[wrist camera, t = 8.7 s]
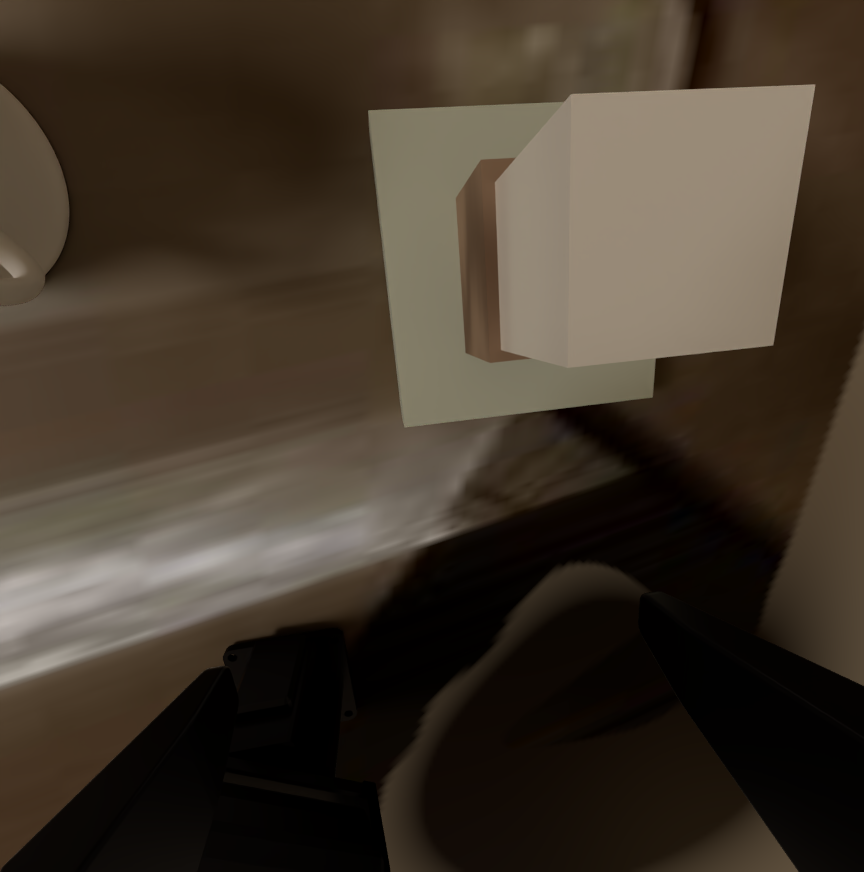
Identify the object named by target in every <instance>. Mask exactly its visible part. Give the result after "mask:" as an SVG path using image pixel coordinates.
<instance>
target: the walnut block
mask: <svg viewBox="0 0 864 872" xmlns="http://www.w3.org/2000/svg"><path fill="white" fill-rule="evenodd" d="M514 160H515V158H502V159H484V160H480V162H479V163H478V165H477V166H476V168H475V169H474V171H473V172H472V174H471V175H470V177H469V178H468V180H467V182H466V183H465V185H464V186H463V188H462V189H461V191H460V192H459V194H458V195H457V197H456V210H457V226H458V242H459V258H460V274H461V289H462V305H463V321H464V337H465V353H467V354H469V355H472V356H474V357H476V358H479V359H481V360H484V361H486V362H489V363H495V362H504V361H513V360H523V359H532V358H529V357H525V356H521V355H517V354H514V353H510V352H506V351H502V350H501V336H500V309H499V281H498V253H497V225H496V197H495V182H496V180H497V179H498V178H499V177H500V176H501V175H502V173H503V172H504V171H505V170H506V169H507V168H508V167H509V165H510V164H511V163H512V162H513V161H514Z"/></svg>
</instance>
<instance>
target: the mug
mask: <svg viewBox="0 0 864 872" xmlns="http://www.w3.org/2000/svg"><path fill="white" fill-rule="evenodd" d="M68 226H69V199H68V192H67V187H66V183H65V179H64V175H63V172H62V169H61V166H60V164H59V161H58V159H57V157H56V154H55V152H54V150H53V148H52V146H51V145H50V143H49V141H48V139H47V137H46V136H45V134H44V133H43V131H42V129H41V128H40V127H39V125H38V124H37V122H36V121H35V120H34V118H33V117H32V116H31V114H30V113H29V112H28V111H27V110H26V108H25V107H24V106H23V105H22V104H21V103H20V102H19V101H18V100H17V99H16V98H15V97H14V96H13V95H12V94H11V93H10V92H9V91H8V90H7V89H6V88H5V87H4V86H3V85H1V84H0V306H11V305H18V304H22V303H26V302H28V301H31V300H32V299H34V298H35V297H37V296H38V295H39V294H40V292H41V291H42V289H43V287H44V284H45V275H46V274H47V272H48V271H49V270H50V269H51V268H52V267H53V265H54V264H55V262H56V261H57V259H58V257H59V255H60V253H61V251H62V249H63V247H64V244H65V241H66V237H67V232H68Z"/></svg>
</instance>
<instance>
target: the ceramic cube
mask: <svg viewBox="0 0 864 872" xmlns="http://www.w3.org/2000/svg"><path fill="white" fill-rule="evenodd" d="M814 90H815V85H793V86H767V87H742V88H716V89H691V90H665V91H639V92H614V93H588V94H571V95H570V96H569V97H568V98H567V100H566V101H565V102H564V103H563V104H562V105H561V107H560V108H559V109H558V110H557V111H556V112H555V113H554V115H553V116H552V117H551V118H550V119H549V120H548V122H547V123H546V124H545V125H544V126H543V127H542V128H541V130H540V131H539V132H538V133H537V134H536V135H535V137H534V138H533V139H532V140H531V141H530V142H529V143H528V145H527V146H526V147H525V148H524V149H523V150H522V152H521V153H520V154H519V155H518V156H517V157H516V158H515V160H514V161H513V162H512V163H511V164H510V165H509V167H508V168H507V169H506V170H505V171H504V172H503V173H502V175H501V176H500V177H499V178H498V179H497V180H496V182H495V197H496V225H497V253H498V281H499V309H500V336H501V350H502V351H506V352H510V353H514V354H517V355H521V356H525V357H529V358H532V359H536V360H540V361H544V362H547V363H551V364H555V365H559V366H562V367H566V368H571V367H581V366H590V365H599V364H608V363H617V362H626V361H635V360H644V359H654V358H663V357H672V356H681V355H690V354H699V353H708V352H718V351H727V350H736V349H745V348H754V347H763V346H772V345H773V343H774V337H775V331H776V325H777V319H778V312H779V306H780V300H781V294H782V288H783V281H784V275H785V269H786V263H787V257H788V251H789V244H790V238H791V232H792V226H793V220H794V213H795V207H796V201H797V195H798V189H799V183H800V176H801V170H802V164H803V158H804V152H805V145H806V139H807V133H808V127H809V121H810V115H811V108H812V102H813V96H814Z"/></svg>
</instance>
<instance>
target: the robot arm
mask: <svg viewBox="0 0 864 872" xmlns="http://www.w3.org/2000/svg"><path fill="white" fill-rule="evenodd" d="M638 625H639V629H640V632H641V634H642V636H643V638H644V640H645V642H646V643H647V645H648V647H649V648H650V650H651V652H652V654H653V655H654V657H655V659H656V661H657V662H658V664H659V666H660V668H661V669H662V671H663V673H664V675H665V676H666V678H667V680H668V681H669V683H670V685H671V687H672V688H673V690H674V692H675V693H676V695H677V697H678V698H679V700H680V702H681V703H682V705H683V706H684V708H685V709H686V710H687V712H688V714H689V715H690V716H691V718H692V719H693V721H694V722H695V724H696V725H697V727H698V728H699V730H700V731H701V732H702V734H703V735H704V737H705V738H706V739H707V741H708V743H709V744H710V745H711V747H712V748H713V750H714V751H715V753H716V754H717V755H718V757H719V758H720V760H721V761H722V763H723V764H724V765H725V767H726V768H727V770H728V771H729V772H730V774H731V775H732V777H733V778H734V780H735V781H736V782H737V784H738V786H739V787H740V788H741V790H742V791H743V793H744V794H745V796H746V797H747V798H748V800H749V801H750V803H751V804H752V805H753V807H754V808H755V810H756V811H757V813H758V814H759V816H760V817H761V818H762V820H763V821H764V823H765V824H766V826H767V827H768V828H769V830H770V831H771V833H772V834H773V836H774V837H775V838H776V840H777V841H778V843H779V844H780V846H781V847H782V849H783V850H784V851H785V853H786V854H787V856H788V857H789V859H790V860H791V862H792V863H793V864H794V865H795V867H796V869H797V870H798V872H864V686H862V685H860V684H858V683H856V682H854V681H852V680H850V679H848V678H846V677H843V676H841V675H839V674H837V673H835V672H833V671H831V670H828V669H826V668H824V667H822V666H820V665H818V664H816V663H813V662H811V661H809V660H807V659H805V658H803V657H800V656H798V655H796V654H794V653H792V652H790V651H788V650H786V649H783V648H781V647H779V646H777V645H775V644H773V643H770V642H768V641H766V640H764V639H762V638H760V637H758V636H756V635H753V634H751V633H749V632H747V631H745V630H743V629H741V628H738V627H736V626H734V625H732V624H730V623H728V622H726V621H723V620H721V619H719V618H717V617H715V616H713V615H711V614H708V613H706V612H704V611H702V610H700V609H698V608H696V607H693V606H691V605H689V604H687V603H685V602H683V601H681V600H678V599H676V598H674V597H672V596H670V595H668V594H666V593H663V592H660V591H655V592H649V593H644V594H643V595H642V596H641V597H640V607H639V620H638ZM332 637H336V639H332ZM231 654H234V655H236V656H233V655H231ZM223 661H224V664H225V666H219V667H213V668H209V669H206V670H205V671H203V672H202V673H201V674H200V675H199V676H198V677H197V678H196V679H195V680H194V681H193V682H192V683H191V684H190V685H189V686H188V687H187V688H186V689H185V690H184V691H183V692H182V693H181V694H180V695H179V696H178V697H177V698H176V699H175V700H173V701H172V702H171V703H170V704H169V705H168V706H167V707H166V708H165V709H164V710H163V711H162V712H161V713H160V714H159V715H158V716H157V717H156V718H155V719H154V720H153V721H152V722H151V723H150V724H149V725H148V726H147V727H146V728H145V729H144V730H143V731H142V732H141V733H140V734H139V735H138V736H137V737H135V738H134V739H133V740H132V741H131V742H130V743H129V744H128V745H127V746H126V747H125V748H124V749H123V750H122V751H121V752H120V753H119V754H118V755H117V756H116V757H115V758H114V759H113V760H112V761H111V762H110V763H109V764H108V765H107V766H106V767H105V768H104V769H103V770H102V771H101V772H100V773H99V774H97V775H96V776H95V777H94V778H93V779H92V780H91V781H90V782H89V783H88V784H87V785H86V786H85V787H84V788H83V789H82V790H81V791H80V792H79V793H78V794H77V795H76V796H75V797H74V798H73V799H72V800H71V801H70V802H69V803H68V804H67V805H66V806H65V807H64V808H63V809H62V810H61V811H59V812H58V813H57V814H56V815H55V816H54V817H53V818H52V819H51V820H50V821H49V822H48V823H47V824H46V825H45V826H44V827H43V828H42V829H41V830H40V831H39V832H38V833H37V834H36V835H35V836H34V837H33V838H32V839H31V840H30V841H29V842H28V843H27V844H26V845H25V846H24V847H23V848H21V849H20V850H19V851H18V852H17V853H16V854H15V855H14V856H13V857H12V858H11V859H10V860H9V861H8V862H7V863H6V864H5V865H4V866H3V867H2V869H1V871H0V872H390V865H389V859H388V854H387V848H386V842H385V836H384V830H383V825H382V819H381V813H380V807H379V801H378V796H377V790H376V784H375V783H373V782H368V781H363V783H361V782H356V781H351V780H346V779H341V778H336V777H335V774H336V763H337V752H338V742H339V731H340V722H341V721H346V720H351V719H353V718H354V717H356V715H357V702H356V697H355V692H354V686H353V681H352V676H351V671H350V665H349V660H348V655H347V650H346V645H345V639H344V634H343V632H342V631H341V630H340V629H338V628H332V629H326V630H320V631H314V632H308V633H302V634H296V635H290V636H284V637H278V638H272V639H266V640H260V641H254V642H248V643H242V644H236V645H231V646H229V647H228V648H227V649H226V651H225V653H224V656H223ZM348 710H350V711H348Z"/></svg>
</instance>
